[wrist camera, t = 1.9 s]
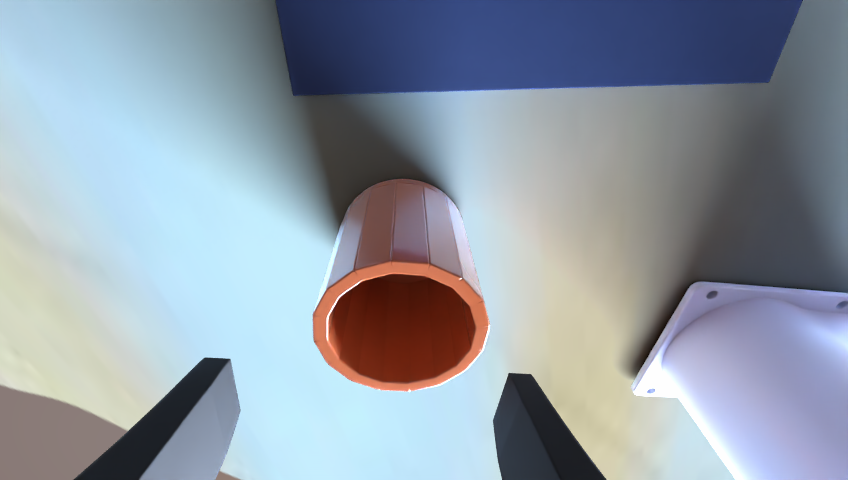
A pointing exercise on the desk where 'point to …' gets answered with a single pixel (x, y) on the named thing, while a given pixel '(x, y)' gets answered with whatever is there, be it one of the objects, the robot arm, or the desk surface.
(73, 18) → the desk surface
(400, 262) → the cup
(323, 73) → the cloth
